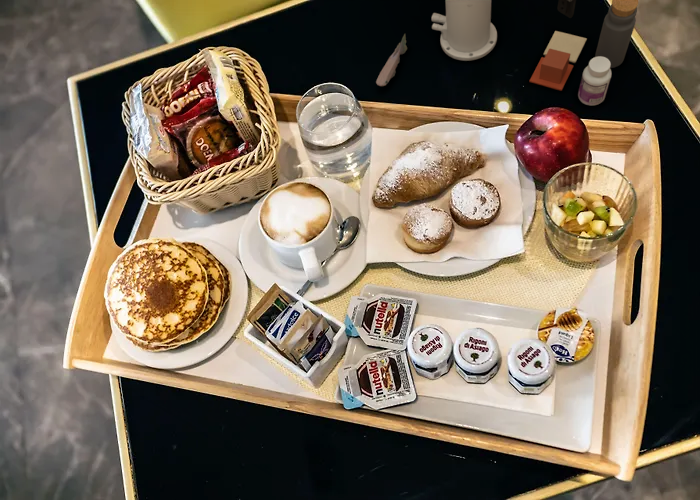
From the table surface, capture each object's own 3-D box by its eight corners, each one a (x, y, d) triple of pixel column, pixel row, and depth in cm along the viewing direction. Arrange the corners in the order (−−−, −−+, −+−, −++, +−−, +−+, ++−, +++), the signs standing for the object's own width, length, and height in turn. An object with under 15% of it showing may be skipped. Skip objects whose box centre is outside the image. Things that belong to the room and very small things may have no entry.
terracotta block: (559, 84, 127) (562, 69, 123) (539, 78, 129) (541, 63, 125) (567, 68, 129) (570, 53, 125) (546, 63, 130) (549, 48, 126)
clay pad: (529, 82, 130) (529, 80, 129) (541, 58, 132) (541, 56, 131) (561, 91, 127) (561, 89, 127) (573, 66, 129) (573, 65, 129)
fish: (412, 50, 139) (410, 33, 135) (386, 95, 135) (383, 80, 130) (402, 47, 140) (399, 31, 136) (375, 92, 136) (372, 77, 131)
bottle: (623, 68, 127) (641, 13, 113) (594, 68, 128) (608, 13, 115) (624, 47, 129) (641, -10, 116) (595, 46, 131) (609, -10, 117)
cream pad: (543, 54, 132) (543, 53, 132) (555, 32, 134) (555, 30, 134) (575, 63, 130) (575, 61, 129) (586, 39, 132) (586, 38, 131)
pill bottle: (585, 82, 127) (593, 49, 118) (609, 91, 125) (619, 58, 116) (572, 100, 126) (580, 68, 117) (597, 110, 124) (606, 78, 115)
